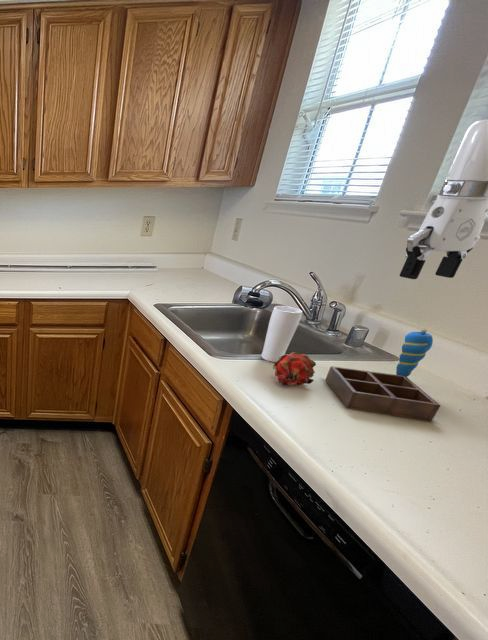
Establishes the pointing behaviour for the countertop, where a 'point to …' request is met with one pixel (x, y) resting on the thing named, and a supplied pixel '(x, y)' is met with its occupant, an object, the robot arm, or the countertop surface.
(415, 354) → the ornament
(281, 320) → the drinking glass
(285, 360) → the dragon fruit
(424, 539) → the countertop surface
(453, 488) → the countertop surface
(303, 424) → the countertop surface
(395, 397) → the divided tray
